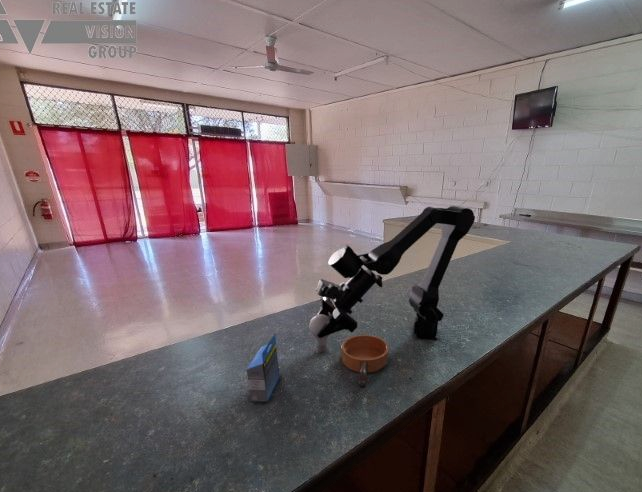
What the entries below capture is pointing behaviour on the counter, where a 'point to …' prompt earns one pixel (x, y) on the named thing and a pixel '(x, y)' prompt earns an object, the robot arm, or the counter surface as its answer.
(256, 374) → the blue cardboard box
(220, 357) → the counter surface
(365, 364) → the handle
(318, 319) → the lightbulb
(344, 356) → the orange round dish
